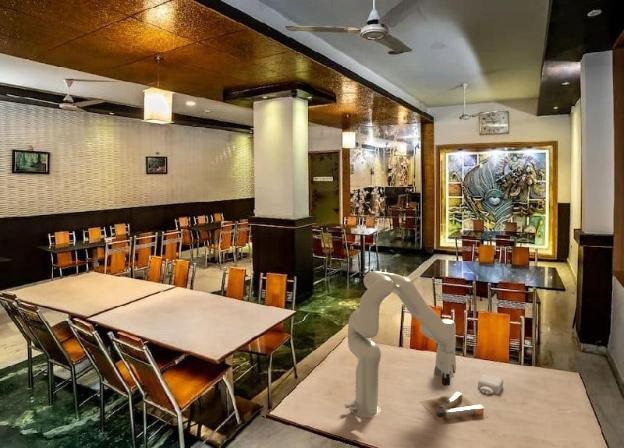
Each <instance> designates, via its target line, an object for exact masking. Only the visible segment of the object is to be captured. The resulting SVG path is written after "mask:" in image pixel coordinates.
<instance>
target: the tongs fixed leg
mask: <svg viewBox="0 0 624 448" xmlns="http://www.w3.org/2000/svg"><path fill="white" fill-rule="evenodd" d="M474 405H475V404H474ZM484 409H485V407H483V406H482V404H476V405H475V406H470V407H463V408H456V409H449V410H445V412H444V417H445V418H446V419H451V418H458V417H464V416H471V415H475V416H477V415H483V414H485V413H484V412H485V410H484Z"/></svg>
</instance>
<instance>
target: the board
mask: <svg viewBox="0 0 624 448" xmlns="http://www.w3.org/2000/svg"><path fill="white" fill-rule="evenodd" d="M452 397H453V396H450V397H443V398H435V399H428V400H421V401H418V402H419V403H420V404H421V405H422V407H424V408H425V409H426V410H427V411H428V413H429V414H430V415H431V416H432V417H433V418H434V419H435V420H436V421H437V422H438V423H439V424H440V425H448V424H455V423H460V422H461V423H463V422H468V421H473V420H481V419H486V418H489V416H488V415H487V414H485V413H484V414H483V415H477V416H475V415H471V416H464V417H458V418H451V419H446V418H445V417H444V414H443V417H439V416H437V415H436V410H437V407H438V406H441V405H442V404H444V403H445V402H446V401H448V400H449V399H450V398H452ZM470 406H475V404H474V403H473V402H471V401H470V400H469V399H468V398H466V397H465V395H462V400H461V401H460V402H459V403H457V404H456V405H455V406H454V407H452V408H451V409H456V408H463V407H470Z"/></svg>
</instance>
